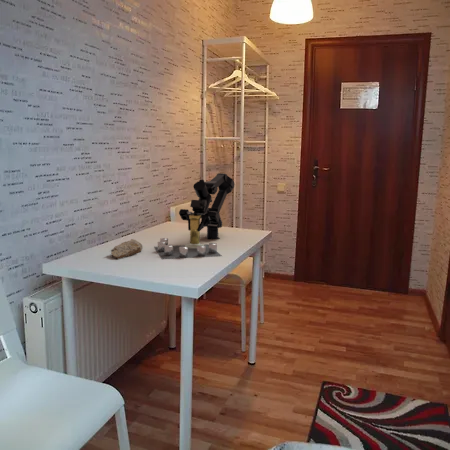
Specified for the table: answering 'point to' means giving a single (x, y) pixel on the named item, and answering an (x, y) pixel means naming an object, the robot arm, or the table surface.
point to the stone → (126, 249)
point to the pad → (193, 245)
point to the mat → (191, 253)
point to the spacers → (184, 249)
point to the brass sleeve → (194, 228)
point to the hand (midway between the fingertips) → (193, 230)
